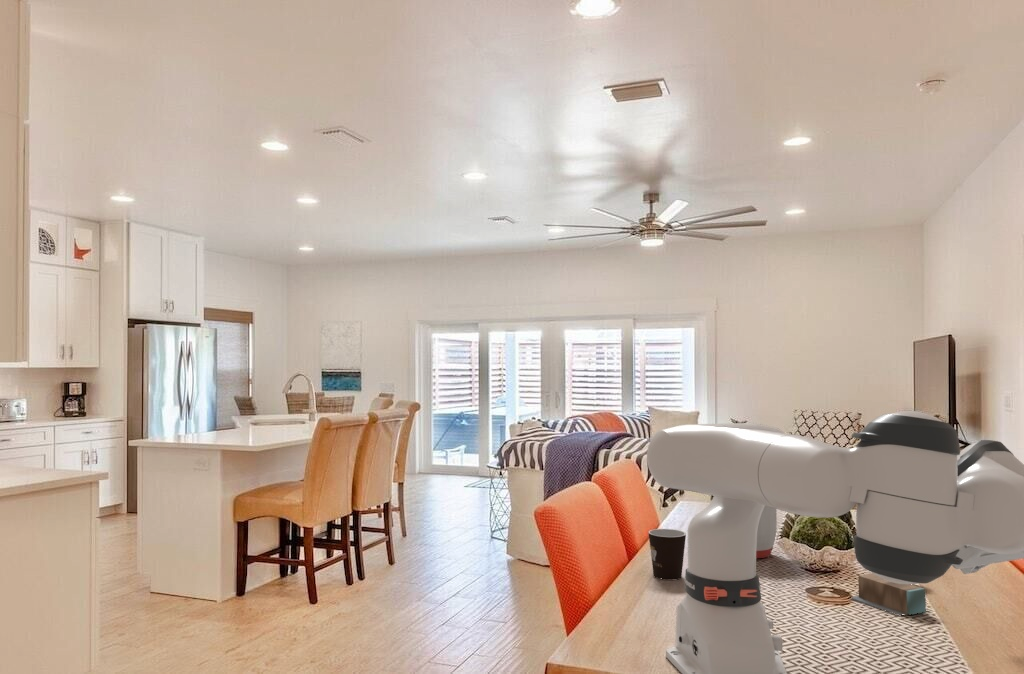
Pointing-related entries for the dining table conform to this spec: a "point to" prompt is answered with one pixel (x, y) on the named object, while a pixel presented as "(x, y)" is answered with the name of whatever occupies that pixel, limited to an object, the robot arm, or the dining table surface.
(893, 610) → the slate mat
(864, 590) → the walnut block
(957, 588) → the dining table surface
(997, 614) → the dining table surface
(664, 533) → the coffee mug
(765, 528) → the citrus juicer
